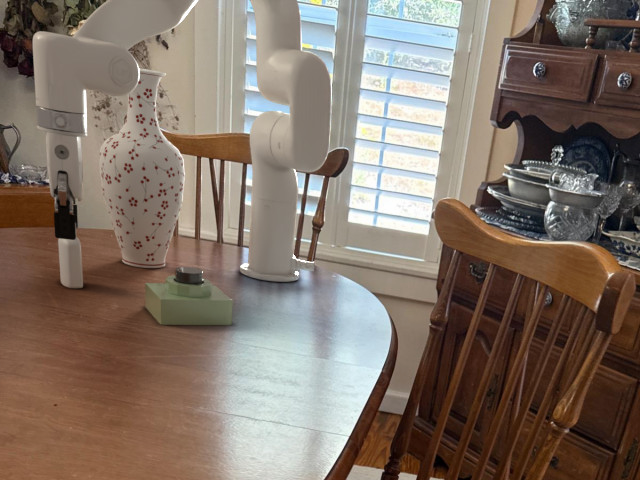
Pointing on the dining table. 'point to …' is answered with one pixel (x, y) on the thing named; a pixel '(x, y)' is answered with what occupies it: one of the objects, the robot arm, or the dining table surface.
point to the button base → (188, 303)
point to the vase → (142, 179)
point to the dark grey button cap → (188, 275)
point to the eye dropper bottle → (70, 262)
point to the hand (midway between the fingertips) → (66, 233)
